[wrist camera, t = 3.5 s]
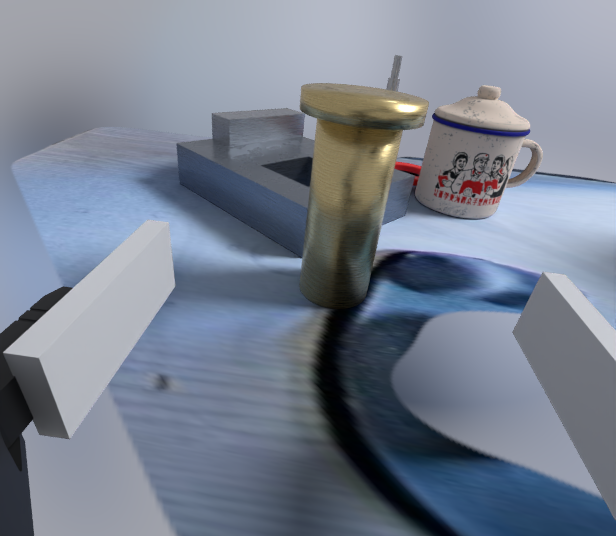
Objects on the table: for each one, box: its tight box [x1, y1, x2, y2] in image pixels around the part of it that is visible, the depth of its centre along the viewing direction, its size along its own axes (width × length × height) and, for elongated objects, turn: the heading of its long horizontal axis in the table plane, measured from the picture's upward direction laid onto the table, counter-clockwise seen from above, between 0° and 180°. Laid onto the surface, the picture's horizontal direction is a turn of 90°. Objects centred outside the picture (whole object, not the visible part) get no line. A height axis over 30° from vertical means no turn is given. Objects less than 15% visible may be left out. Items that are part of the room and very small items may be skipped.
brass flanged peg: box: [300, 83, 429, 309], centre depth 22 cm, size 6×6×12 cm
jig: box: [177, 108, 415, 257], centre depth 36 cm, size 18×14×6 cm
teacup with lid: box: [415, 85, 543, 219], centre depth 39 cm, size 12×9×12 cm
